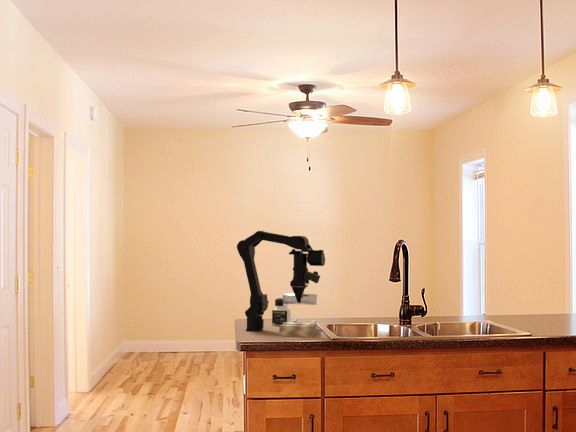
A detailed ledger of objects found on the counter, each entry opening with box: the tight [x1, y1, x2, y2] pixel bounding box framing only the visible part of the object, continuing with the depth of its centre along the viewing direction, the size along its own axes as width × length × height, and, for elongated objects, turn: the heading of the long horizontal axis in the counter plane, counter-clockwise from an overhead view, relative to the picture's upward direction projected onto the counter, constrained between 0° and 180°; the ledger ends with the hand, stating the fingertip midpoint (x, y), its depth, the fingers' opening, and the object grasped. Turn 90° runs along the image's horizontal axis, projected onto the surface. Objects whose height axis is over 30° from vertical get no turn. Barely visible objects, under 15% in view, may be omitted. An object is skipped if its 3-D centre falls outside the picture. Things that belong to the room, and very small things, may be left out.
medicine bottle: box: [271, 297, 292, 326], centre depth 316 cm, size 7×7×12 cm
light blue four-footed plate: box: [287, 319, 319, 332], centre depth 298 cm, size 13×11×4 cm
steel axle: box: [282, 293, 318, 306], centre depth 289 cm, size 14×4×4 cm, turn 83°
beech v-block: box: [278, 322, 317, 338], centre depth 286 cm, size 14×11×4 cm
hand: (299, 302), depth 289 cm, fingers closed on steel axle, 4 cm apart
